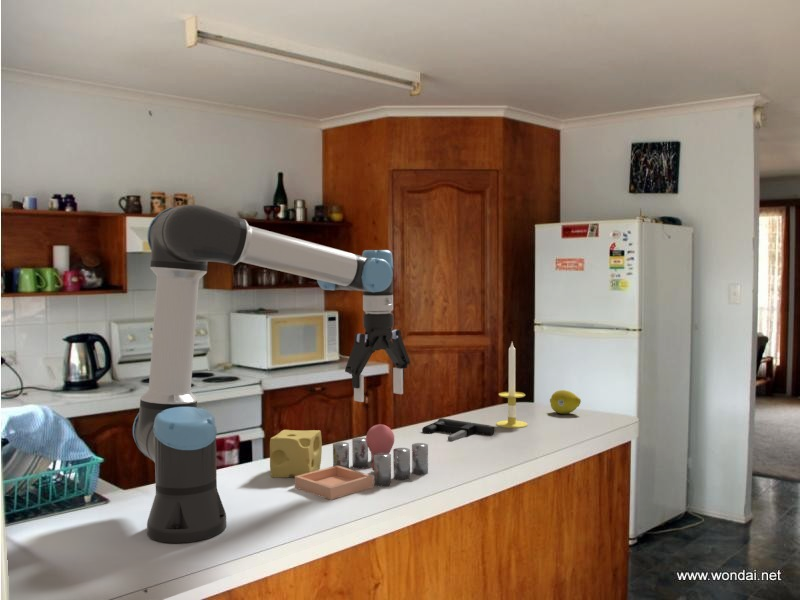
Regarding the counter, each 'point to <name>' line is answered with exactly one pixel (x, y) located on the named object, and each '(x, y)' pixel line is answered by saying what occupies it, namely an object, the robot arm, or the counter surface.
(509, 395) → the candle
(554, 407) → the lemon
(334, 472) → the dish
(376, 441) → the light bulb
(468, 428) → the black submachine gun
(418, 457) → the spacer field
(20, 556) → the counter surface
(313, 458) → the cheese
